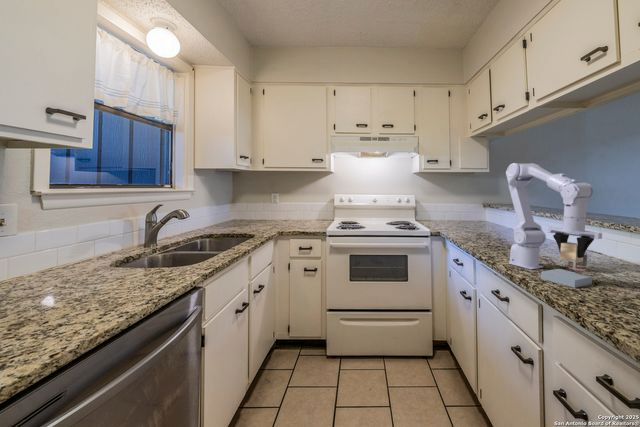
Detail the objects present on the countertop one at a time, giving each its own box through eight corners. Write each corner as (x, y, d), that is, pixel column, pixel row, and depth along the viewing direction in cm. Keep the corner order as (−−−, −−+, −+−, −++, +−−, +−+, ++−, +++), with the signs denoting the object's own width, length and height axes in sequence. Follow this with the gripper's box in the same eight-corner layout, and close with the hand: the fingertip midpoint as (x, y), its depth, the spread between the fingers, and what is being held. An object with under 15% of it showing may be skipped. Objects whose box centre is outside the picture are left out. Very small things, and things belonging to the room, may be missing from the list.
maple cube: (559, 259, 97) (561, 243, 97) (567, 258, 99) (568, 242, 99) (575, 262, 93) (576, 245, 93) (582, 261, 95) (584, 244, 94)
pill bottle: (587, 269, 109) (589, 245, 108) (583, 272, 106) (585, 247, 105) (570, 266, 114) (571, 243, 113) (565, 268, 111) (567, 245, 110)
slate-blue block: (540, 279, 99) (541, 271, 99) (557, 276, 103) (558, 268, 102) (574, 289, 90) (575, 280, 89) (591, 285, 93) (592, 276, 93)
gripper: (608, 219, 89) (605, 259, 91) (557, 215, 103) (554, 250, 104) (596, 220, 87) (593, 261, 88) (545, 216, 100) (542, 252, 102)
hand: (571, 255), depth 96 cm, fingers closed on maple cube, 4 cm apart
